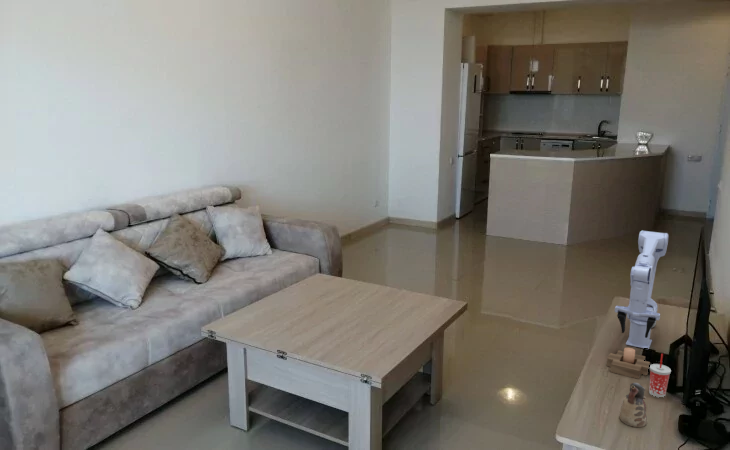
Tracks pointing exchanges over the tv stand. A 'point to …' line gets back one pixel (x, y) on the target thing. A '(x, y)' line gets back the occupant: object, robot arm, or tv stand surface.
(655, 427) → the tv stand surface
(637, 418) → the figurine
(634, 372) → the socket block
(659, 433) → the tv stand surface
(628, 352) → the peg
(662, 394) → the beverage cup
